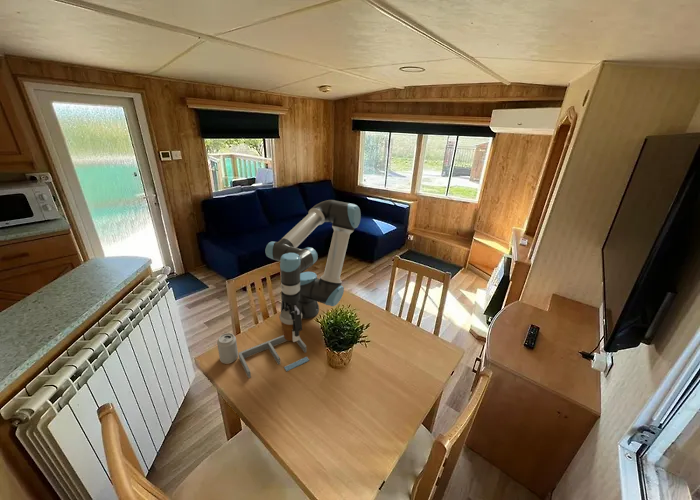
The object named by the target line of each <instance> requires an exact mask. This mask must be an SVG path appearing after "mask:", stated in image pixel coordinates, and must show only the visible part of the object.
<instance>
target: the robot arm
mask: <svg viewBox="0 0 700 500" xmlns="http://www.w3.org/2000/svg"><path fill="white" fill-rule="evenodd" d="M307 212H308V214H306V216H304V217H303V218H302V220H300V221H299V222H298V223H297V224H295V226H293V227H292V229H290V230H289V231H288V232H287V233H286V234H285V235H284V236H283V237H281V239H279V240H278V241H270V242H268V243H267V244H266V247H265V256H266V257H267V258H269V259H270V260H274V261H278V262H280V263H279V268H280V286H279V288H281V289H280V294H281V295H280V296H281V297H280V299H281V304H280V306H281V307H280V313H281V312H282V311H283V310H285V311H288V310H289V314H290V315H291V318H292V320H293V329H292V332H293V341H292V342H293V343H295V342H296V341H298V340H299V337H300V332H301V331H303V323H302V322H303V321H302V319H303V320H304V319H312V318H314V317H315V316H317V315H319V314H318V313H319V312H320V306H319V303H320V304H322V305H326V306H330V307H335V306H337V305H338V304H339V303H340V301H341V299H342V297H343V295H344V291H345V290H344V289H345V287H344V286H343V285H342V282H343V281H342V280H341V274H342V270H343V266H344V262H345V257H346V252H347V249H348V244H349V239H350V235H351V234H352V233H353V232H354V231H355V229H356V228H358V227H359V225H360V224H361V218H362V216H361V215H362V214H361V213H362V212H361V209H360V207H359V206H358V205H357V204H355V203H350V202H344V201H339V200H335V199H328V200H327V199H326V200H324V201H321V202H319V203H316V204H315V205H314V206H313V207H311V208H310V209H309V210H308V211H307ZM324 223H332V224H331V228H332V229H333V233H332V237H331V242H330V247H329V249H328V254H327V259H326V264H325V269H324V272H323V274H322V275H321V276H320V277H319V278H318V275H317V273H315V272H313V271H306V270H307V269H309V268H310V267H312V266H313V265H314V264H315V263H316V262H317V261H318V258H319V257H318V256H319V255H318V252H317V251H316V249H314V248H313V247H309V246H307V247H305V248H298V247H299V246H300V245H301V244H302V243H303V242H304V241H305V240H306V239H307V237H309V235H311V234H312V233H313V231H315V229H316V228H317V227H318V226H321V225H323V224H324ZM293 311H294V312H293ZM291 312H292V313H291ZM301 313H302V319H301ZM294 319H295V321H294Z"/></svg>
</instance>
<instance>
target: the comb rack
mask: <svg viewBox="0 0 700 500" xmlns="http://www.w3.org/2000/svg"><path fill="white" fill-rule="evenodd" d="M287 341H288V340H286V339H285V338H284V334H283V335H279V336H278V337H274V338H272V339H271V340H267V341H265V342H262V343H260V344H257V345H254V346H252V347H250V348H246V349H245V350H242V351H238V359H239V361H240V363H241V365H242V367H243V369H244V372H245V374H246V376H247V378H248V379H250V378H252V375H251V374H252V373H251V370H250V368H249V366H248V364H247V362H246V358H248V357H251V356H254V355H256V354H258V353H261V352H263V351H265V350H268V351H269V352H270V355H272V357H273V359H274V360H275V362H276V364H277V365H281V356H280V355H279V354H278V352H277V351H276V349H275V348H274V347H276V346H278V345H280V344H282V343H285V342H287ZM288 342H289V341H288ZM295 342H296V343H297V345H298V346H299V348H300V349H301V350H302V351H303V353H305V354H306V353H307V351H308V350H307V349H308V348H307V347H308V346H307V345H306V344H305V342H304V341H303V340H302V338H301V337H300V336H299V340H298V341H295Z"/></svg>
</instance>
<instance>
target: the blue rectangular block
mask: <svg viewBox="0 0 700 500" xmlns="http://www.w3.org/2000/svg"><path fill="white" fill-rule="evenodd" d="M307 362H310V359H309V358H308V356H305V357H302V358H300V359H298V360H297V361H295V362H291V363H289V364H288V365H284V367H283V368H284V370H285V372H288V371H291V370H294V369H296V368H298V367H300V366H301V365H304V364H305V363H307Z"/></svg>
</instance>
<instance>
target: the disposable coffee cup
mask: <svg viewBox="0 0 700 500" xmlns="http://www.w3.org/2000/svg"><path fill="white" fill-rule="evenodd" d="M293 312H294V311H293ZM291 313H292V312H291ZM279 320H280V322H281V328H282V332H283V335H284V338H285V339H286V340H288V342H293V332H292V329H293V320H292V318H291V315H290V314H289V310H288V311H285V310H283V311H282V312H281V311H280V314H279ZM301 320H302V313H301ZM294 321H295V319H294Z"/></svg>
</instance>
